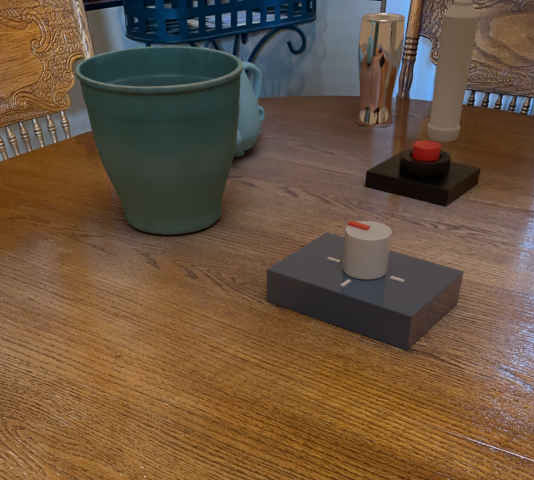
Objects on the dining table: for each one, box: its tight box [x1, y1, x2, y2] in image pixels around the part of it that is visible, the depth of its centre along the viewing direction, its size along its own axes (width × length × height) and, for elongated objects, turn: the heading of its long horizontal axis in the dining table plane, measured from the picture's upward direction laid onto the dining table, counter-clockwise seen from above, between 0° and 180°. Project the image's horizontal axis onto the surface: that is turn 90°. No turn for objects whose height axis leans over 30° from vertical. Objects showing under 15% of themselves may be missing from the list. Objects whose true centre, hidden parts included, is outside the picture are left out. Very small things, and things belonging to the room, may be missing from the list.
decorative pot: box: [205, 47, 266, 158], centre depth 102 cm, size 16×16×14 cm
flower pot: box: [75, 45, 243, 236], centre depth 82 cm, size 18×18×17 cm
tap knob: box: [343, 220, 393, 280], centre depth 67 cm, size 4×4×4 cm
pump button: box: [412, 139, 442, 161], centre depth 92 cm, size 4×4×2 cm
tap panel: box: [266, 231, 464, 351], centre depth 70 cm, size 16×11×4 cm
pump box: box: [364, 147, 481, 208], centre depth 94 cm, size 12×10×4 cm
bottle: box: [426, 0, 480, 143], centre depth 103 cm, size 5×5×25 cm
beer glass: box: [355, 12, 406, 128], centre depth 112 cm, size 7×7×15 cm
